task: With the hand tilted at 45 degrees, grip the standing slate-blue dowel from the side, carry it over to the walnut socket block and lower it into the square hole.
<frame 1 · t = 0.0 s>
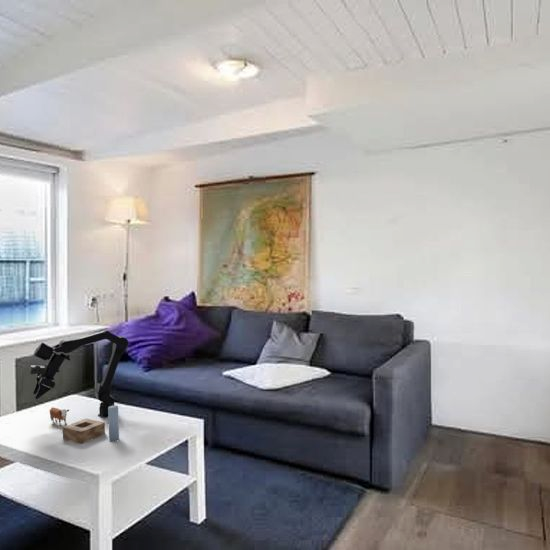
hand: (35, 396, 208), 15 cm above the table, tool tilted 35°, fingers open, 9 cm apart
socket: (84, 436, 199), on the table
bull figurine: (59, 424, 214), on the table
dowel: (114, 439, 194), on the table
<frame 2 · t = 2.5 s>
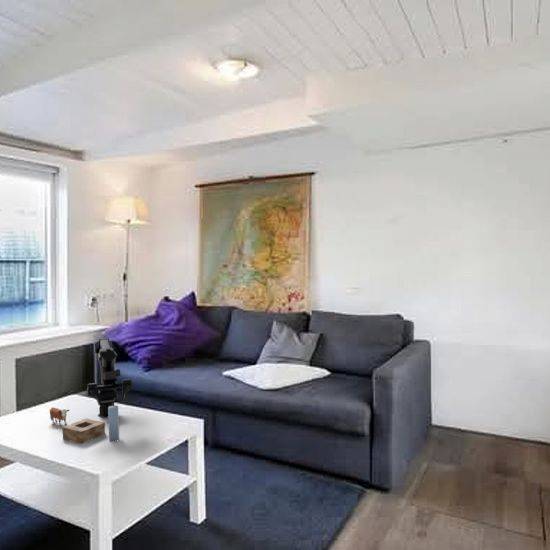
hand: (111, 403, 201), 13 cm above the table, tool tilted 45°, fingers open, 9 cm apart
nothing on the table moved.
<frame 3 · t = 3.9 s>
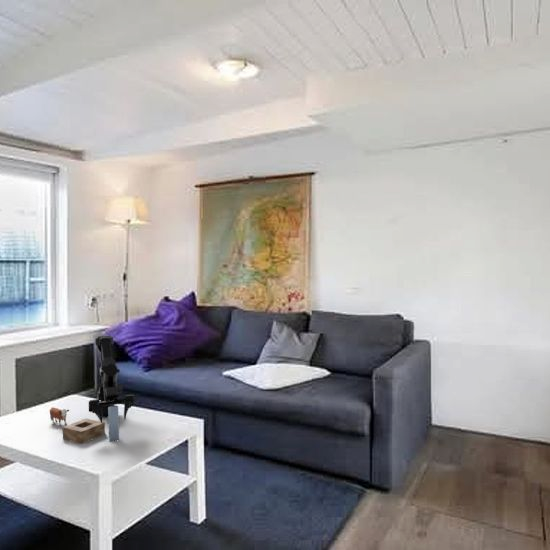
hand: (113, 420, 194), 8 cm above the table, tool tilted 45°, fingers open, 9 cm apart
nothing on the table moved.
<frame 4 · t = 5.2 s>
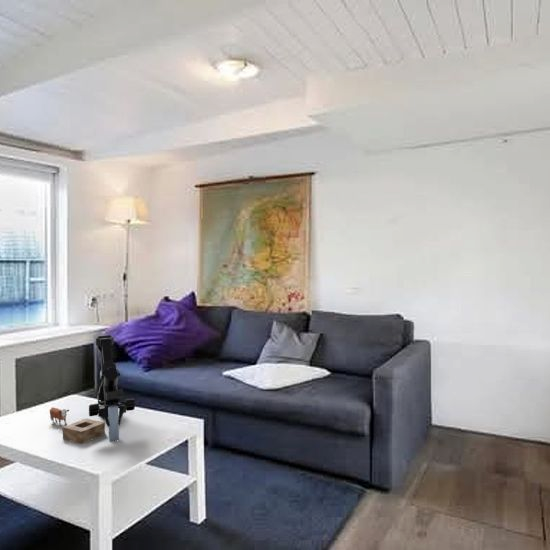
hand: (114, 425, 192), 7 cm above the table, tool tilted 45°, fingers closed on dowel, 4 cm apart
dowel: (114, 439, 194), on the table, touching gripper
everything else where it was.
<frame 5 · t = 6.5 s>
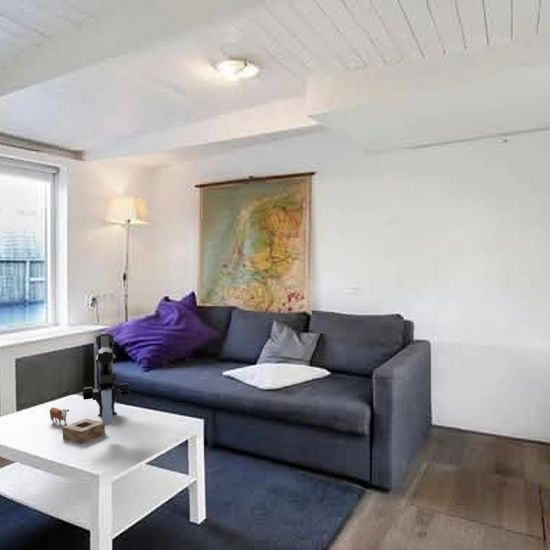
hand: (106, 409, 193), 13 cm above the table, tool tilted 45°, fingers closed on dowel, 4 cm apart
dowel: (107, 423, 194), point 7 cm above the table, touching gripper
everything else where it was.
when the fingers open (10 cm above the table, at t = 8.2 s): dowel drops 4 cm, resting in socket.
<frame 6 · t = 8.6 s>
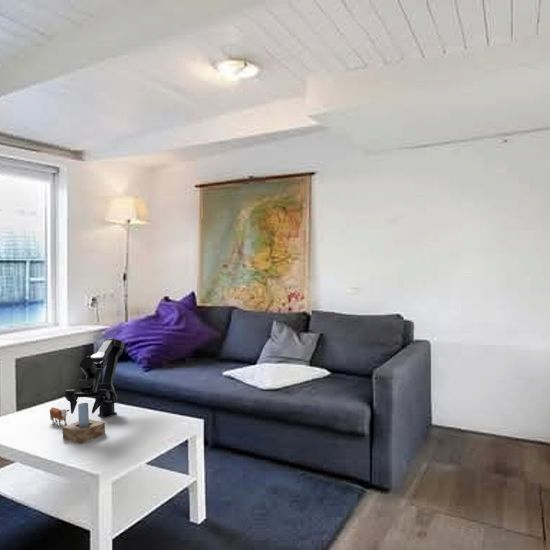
hand: (82, 413, 197), 11 cm above the table, tool tilted 45°, fingers open, 9 cm apart
dowel: (84, 436, 199), resting in socket
everything else where it was.
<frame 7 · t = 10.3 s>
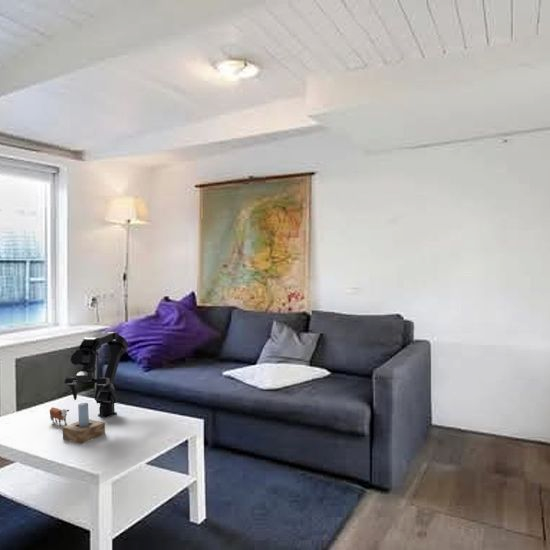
hand: (85, 400, 208), 13 cm above the table, tool pointing down, fingers open, 9 cm apart
nothing on the table moved.
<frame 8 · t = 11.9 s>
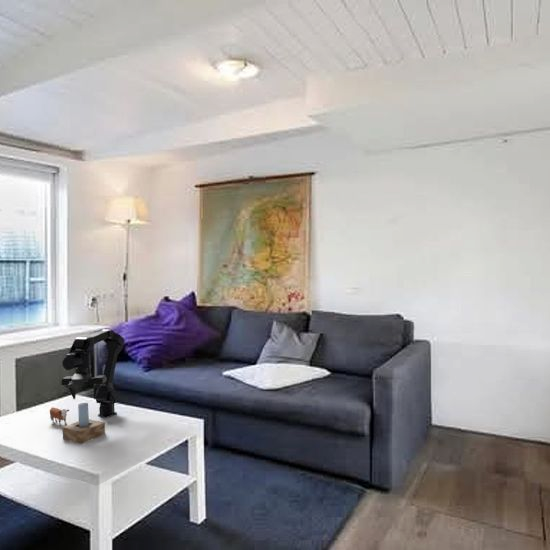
hand: (84, 398, 209), 13 cm above the table, tool pointing down, fingers open, 9 cm apart
nothing on the table moved.
at the end: dowel 0.0 cm off-centre on the socket, point 0.0 cm above the socket's base; dowel tilted 0°; the gripper is holding nothing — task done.
